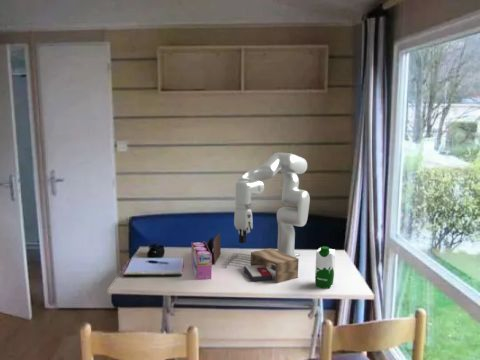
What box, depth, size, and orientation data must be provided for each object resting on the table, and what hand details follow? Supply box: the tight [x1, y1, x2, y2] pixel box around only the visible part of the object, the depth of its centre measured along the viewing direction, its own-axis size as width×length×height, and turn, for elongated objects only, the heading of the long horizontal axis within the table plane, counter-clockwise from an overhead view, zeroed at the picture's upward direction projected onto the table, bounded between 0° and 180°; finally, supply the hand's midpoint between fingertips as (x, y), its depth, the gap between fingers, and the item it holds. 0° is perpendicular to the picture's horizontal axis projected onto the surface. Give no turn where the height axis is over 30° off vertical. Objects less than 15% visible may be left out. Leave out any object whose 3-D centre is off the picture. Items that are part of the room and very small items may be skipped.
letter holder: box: [204, 233, 222, 266], centre depth 267 cm, size 10×20×14 cm, turn 173°
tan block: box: [250, 247, 299, 284], centre depth 244 cm, size 14×22×10 cm, turn 36°
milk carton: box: [314, 245, 336, 290], centre depth 229 cm, size 9×9×20 cm
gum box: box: [190, 240, 213, 281], centre depth 246 cm, size 24×8×14 cm, turn 13°
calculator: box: [243, 264, 273, 283], centre depth 242 cm, size 11×4×15 cm
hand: (242, 242), depth 230 cm, fingers closed
